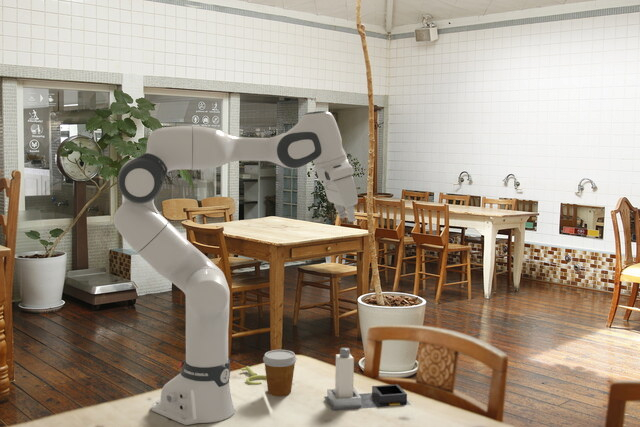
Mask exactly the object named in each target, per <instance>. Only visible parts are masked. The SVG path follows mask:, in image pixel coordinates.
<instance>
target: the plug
mask: <svg viewBox="0 0 640 427" xmlns="http://www.w3.org/2000/svg"><path fill="white" fill-rule="evenodd" d="M354 366H355V358H354V357H353V356H352V354H351V352H350V348H349V347H340V349H339V353H338V354H337V353H336V354H335V381H334V382H335V386H334V387H335V388H334V389H335V397H336V398H348V397H353V387H354V377H355V376H354V375H355V374H354V370H355V367H354Z"/></svg>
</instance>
